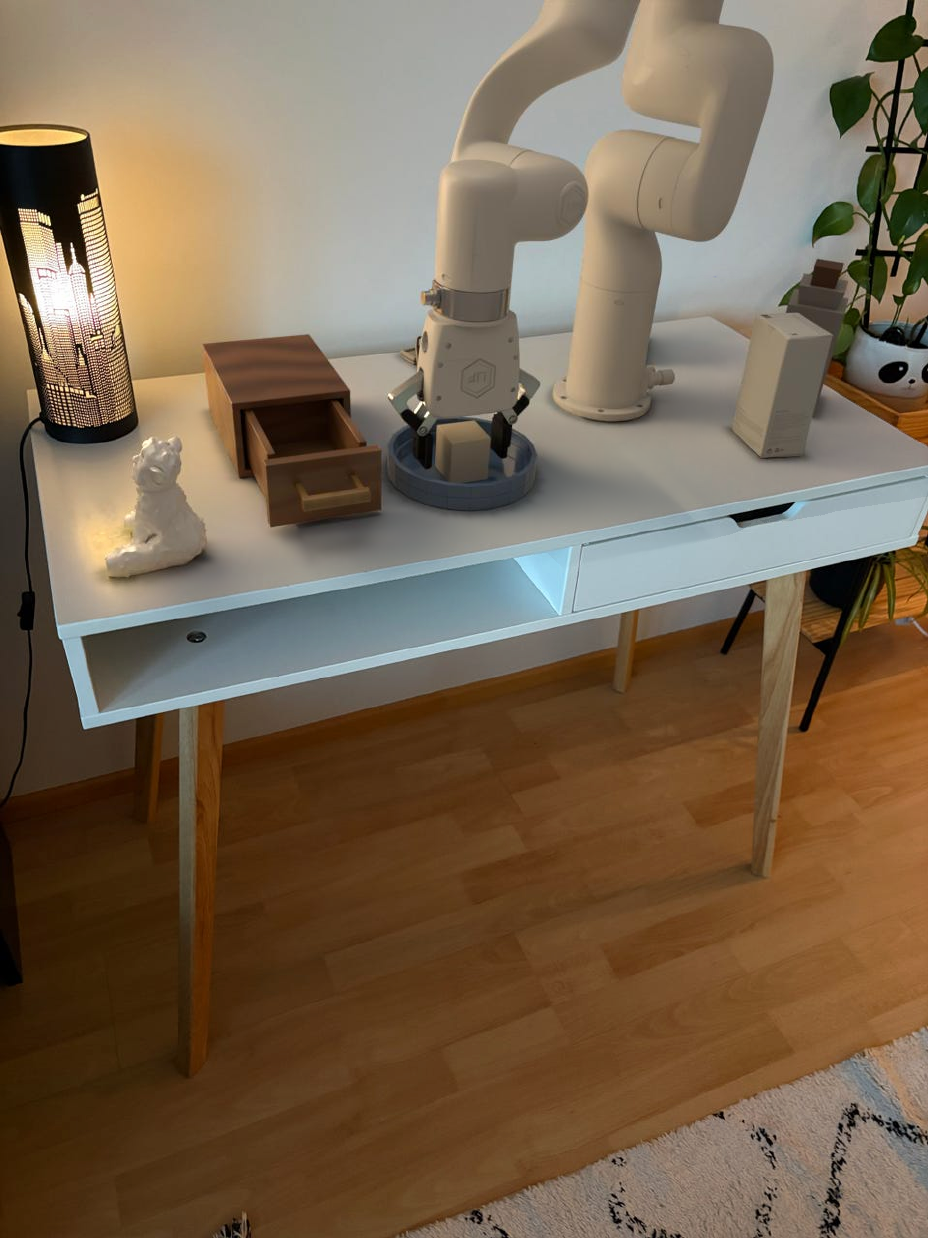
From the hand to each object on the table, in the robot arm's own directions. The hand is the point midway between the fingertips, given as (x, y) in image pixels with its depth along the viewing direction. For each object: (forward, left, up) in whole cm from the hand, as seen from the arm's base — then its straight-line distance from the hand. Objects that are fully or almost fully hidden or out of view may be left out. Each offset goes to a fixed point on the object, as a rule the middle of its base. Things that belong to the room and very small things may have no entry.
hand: (461, 457), depth 104 cm
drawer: (+17, 0, -1) cm, 17 cm away
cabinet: (+17, -15, -2) cm, 22 cm away
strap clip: (-7, -30, -2) cm, 31 cm away
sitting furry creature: (+33, +6, -2) cm, 34 cm away
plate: (0, 0, -2) cm, 2 cm away
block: (0, 0, -2) cm, 2 cm away
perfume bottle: (-50, -6, -2) cm, 51 cm away
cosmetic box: (-39, +3, -2) cm, 39 cm away
